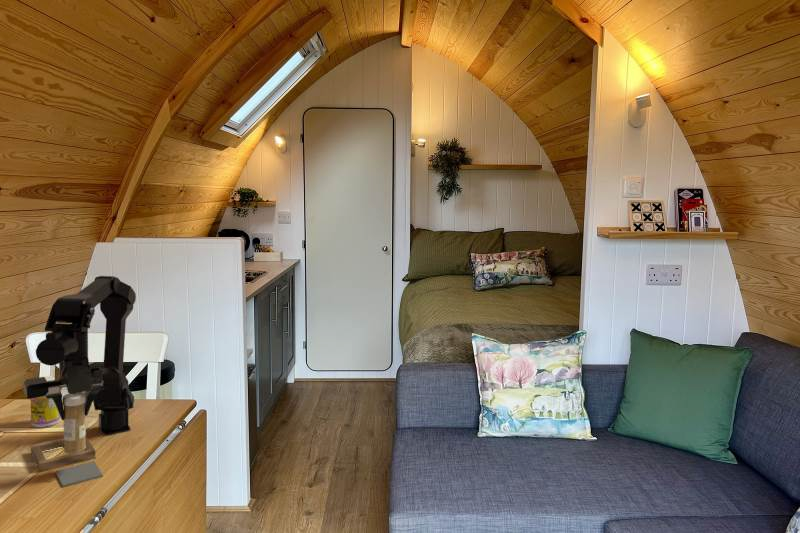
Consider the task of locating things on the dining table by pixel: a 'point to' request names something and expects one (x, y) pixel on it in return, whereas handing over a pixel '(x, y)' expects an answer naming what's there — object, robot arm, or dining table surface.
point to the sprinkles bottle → (74, 422)
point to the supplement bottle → (44, 410)
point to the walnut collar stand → (61, 460)
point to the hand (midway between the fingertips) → (74, 417)
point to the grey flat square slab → (78, 473)
